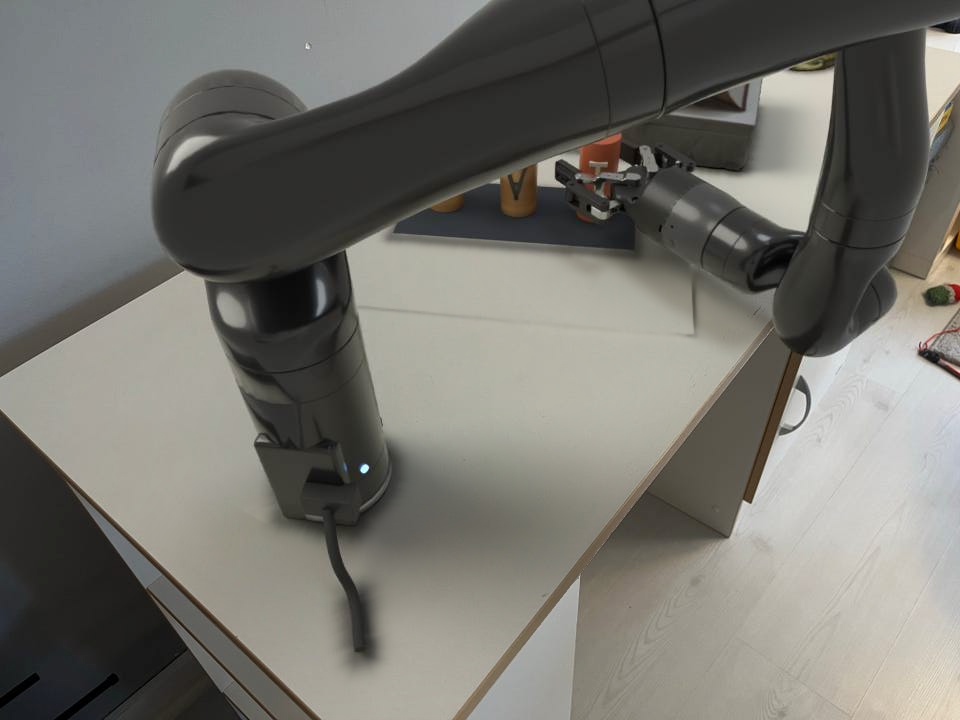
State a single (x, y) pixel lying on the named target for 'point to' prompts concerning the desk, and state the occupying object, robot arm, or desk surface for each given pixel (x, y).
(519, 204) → the light wooden cylinder
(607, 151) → the pillar
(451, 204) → the pillar
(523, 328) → the desk surface
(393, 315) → the desk surface
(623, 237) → the word mat
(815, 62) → the olive rounded lump
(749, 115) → the bible
